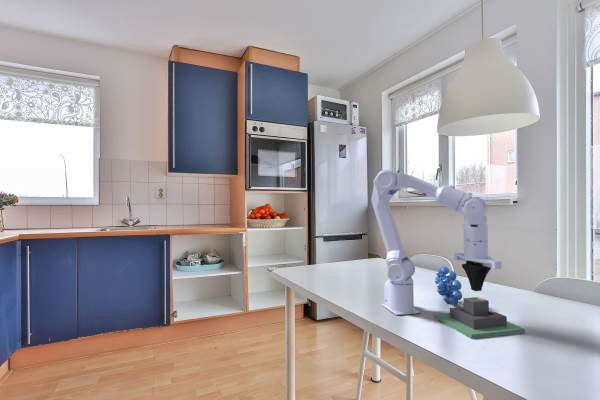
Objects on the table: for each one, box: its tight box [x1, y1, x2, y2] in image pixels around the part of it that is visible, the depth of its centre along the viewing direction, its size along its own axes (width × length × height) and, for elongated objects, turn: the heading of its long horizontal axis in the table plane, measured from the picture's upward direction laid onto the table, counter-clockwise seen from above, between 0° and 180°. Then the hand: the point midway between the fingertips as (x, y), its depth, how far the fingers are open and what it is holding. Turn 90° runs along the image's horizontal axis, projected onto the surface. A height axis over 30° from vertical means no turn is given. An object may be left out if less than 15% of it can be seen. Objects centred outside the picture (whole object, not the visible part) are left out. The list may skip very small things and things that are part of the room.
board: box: [434, 306, 526, 339], centre depth 82 cm, size 14×16×4 cm
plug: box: [462, 296, 490, 316], centre depth 82 cm, size 4×5×7 cm
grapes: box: [434, 265, 463, 306], centre depth 101 cm, size 12×7×12 cm, turn 14°
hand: (476, 290), depth 83 cm, fingers closed
